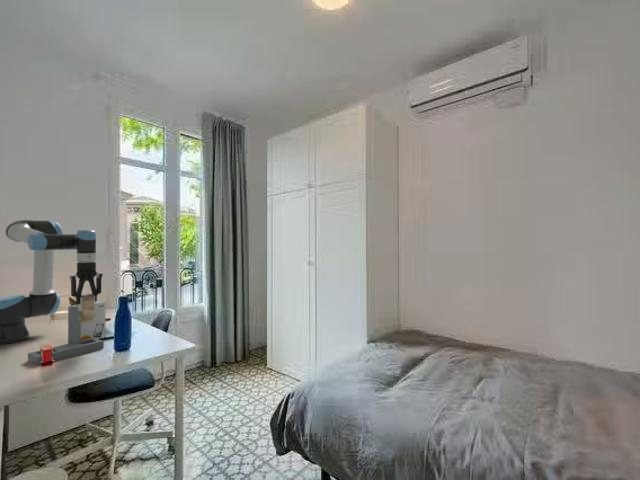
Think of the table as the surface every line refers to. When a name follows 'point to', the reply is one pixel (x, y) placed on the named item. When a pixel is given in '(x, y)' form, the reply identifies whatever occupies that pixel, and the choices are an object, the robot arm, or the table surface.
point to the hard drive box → (86, 324)
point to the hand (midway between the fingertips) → (86, 309)
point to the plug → (87, 308)
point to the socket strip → (68, 350)
